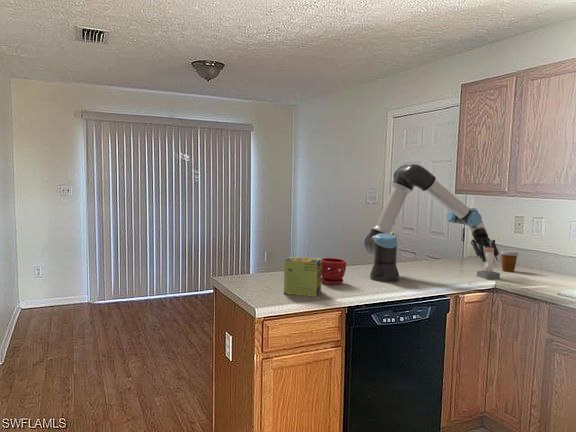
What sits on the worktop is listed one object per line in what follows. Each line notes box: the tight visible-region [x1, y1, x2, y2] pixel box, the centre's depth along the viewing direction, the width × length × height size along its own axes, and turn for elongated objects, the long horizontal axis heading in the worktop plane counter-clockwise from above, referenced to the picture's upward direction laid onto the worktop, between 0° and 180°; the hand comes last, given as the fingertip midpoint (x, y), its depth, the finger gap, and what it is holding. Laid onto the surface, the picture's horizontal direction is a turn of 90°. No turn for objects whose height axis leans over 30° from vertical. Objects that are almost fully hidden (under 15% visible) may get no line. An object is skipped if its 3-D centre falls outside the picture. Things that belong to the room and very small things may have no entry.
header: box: [476, 269, 501, 280], centre depth 238 cm, size 8×8×4 cm
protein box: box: [283, 256, 322, 297], centre depth 202 cm, size 10×15×16 cm
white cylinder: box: [483, 247, 494, 273], centre depth 237 cm, size 4×4×16 cm
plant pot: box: [321, 257, 347, 286], centre depth 222 cm, size 13×13×12 cm
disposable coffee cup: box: [499, 249, 519, 273], centre depth 262 cm, size 10×10×12 cm
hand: (492, 266), depth 234 cm, fingers closed on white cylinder, 4 cm apart
